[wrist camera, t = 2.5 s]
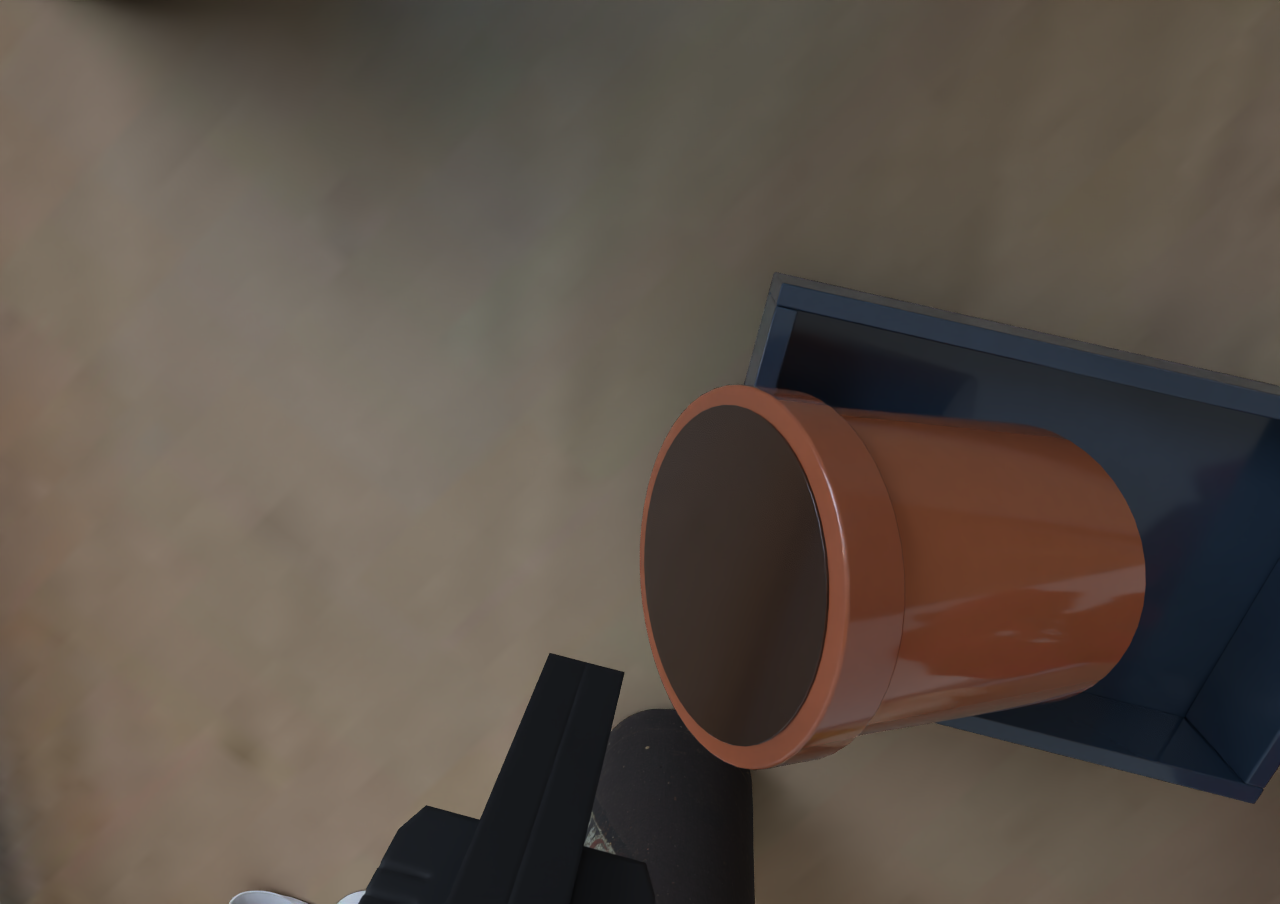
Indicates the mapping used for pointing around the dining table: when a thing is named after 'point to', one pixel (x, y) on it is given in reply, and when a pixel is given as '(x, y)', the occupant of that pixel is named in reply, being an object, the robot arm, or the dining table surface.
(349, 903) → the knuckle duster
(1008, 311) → the dining table surface
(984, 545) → the flower pot
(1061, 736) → the tray
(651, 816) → the container
